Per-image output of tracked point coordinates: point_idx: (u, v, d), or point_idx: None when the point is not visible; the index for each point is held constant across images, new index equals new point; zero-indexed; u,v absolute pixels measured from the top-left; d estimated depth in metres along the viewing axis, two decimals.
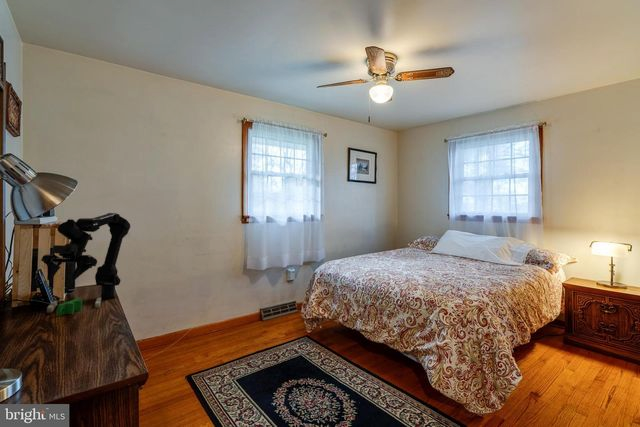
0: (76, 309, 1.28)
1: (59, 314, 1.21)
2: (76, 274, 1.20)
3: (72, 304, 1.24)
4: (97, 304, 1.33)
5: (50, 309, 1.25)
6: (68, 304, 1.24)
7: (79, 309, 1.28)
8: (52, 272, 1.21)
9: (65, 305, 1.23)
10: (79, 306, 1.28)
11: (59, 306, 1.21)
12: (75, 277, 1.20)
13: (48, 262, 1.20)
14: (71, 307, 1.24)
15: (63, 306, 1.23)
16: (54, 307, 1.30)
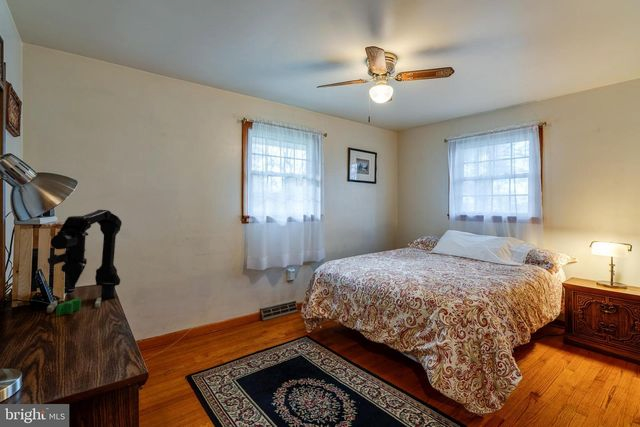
0: (75, 309, 1.28)
1: (58, 314, 1.21)
2: (71, 281, 1.20)
3: (71, 304, 1.24)
4: (97, 304, 1.33)
5: (50, 309, 1.25)
6: (67, 304, 1.24)
7: (78, 309, 1.28)
8: None
9: (64, 305, 1.23)
10: (78, 306, 1.28)
11: (58, 306, 1.21)
12: (72, 283, 1.21)
13: None
14: (70, 307, 1.24)
15: (62, 306, 1.23)
16: (54, 307, 1.30)
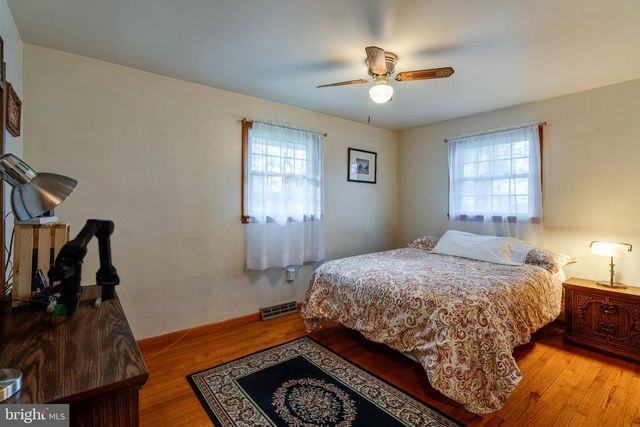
0: None
1: (56, 314, 1.21)
2: (67, 311, 1.17)
3: None
4: (97, 304, 1.33)
5: (50, 309, 1.25)
6: None
7: (76, 309, 1.28)
8: None
9: (62, 305, 1.23)
10: (76, 306, 1.28)
11: (56, 306, 1.21)
12: (69, 313, 1.17)
13: None
14: None
15: (60, 306, 1.23)
16: None
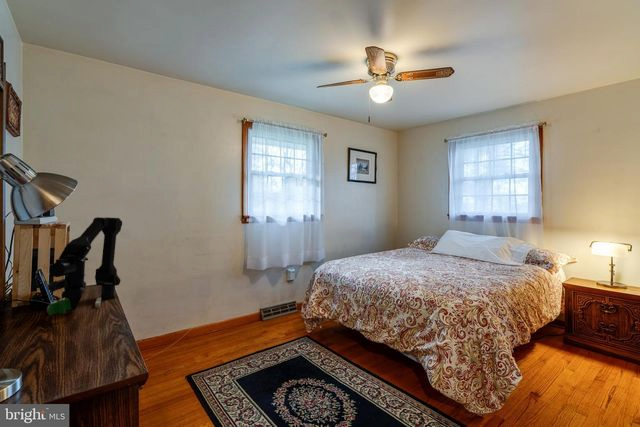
0: (68, 308, 1.28)
1: (50, 313, 1.21)
2: (72, 304, 1.26)
3: (64, 303, 1.25)
4: (97, 304, 1.33)
5: None
6: (60, 303, 1.24)
7: (71, 308, 1.29)
8: None
9: (57, 304, 1.24)
10: None
11: (50, 305, 1.21)
12: (73, 306, 1.26)
13: None
14: (63, 306, 1.25)
15: (55, 305, 1.23)
16: None
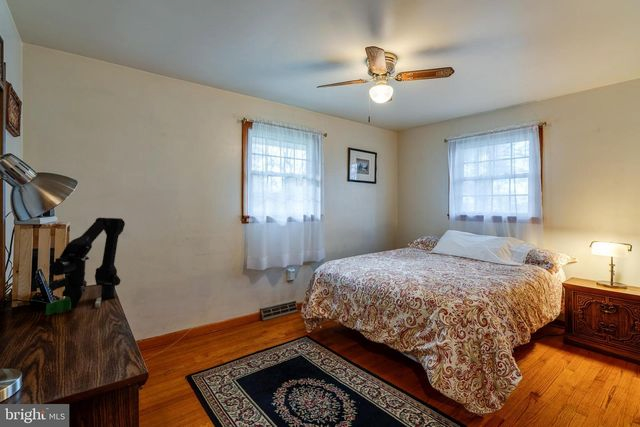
0: (65, 308, 1.28)
1: (48, 313, 1.21)
2: (72, 303, 1.27)
3: (61, 303, 1.25)
4: (97, 304, 1.33)
5: None
6: (57, 303, 1.25)
7: (68, 308, 1.29)
8: None
9: (54, 304, 1.24)
10: (68, 305, 1.29)
11: (48, 305, 1.21)
12: (74, 305, 1.28)
13: None
14: (60, 306, 1.25)
15: (52, 305, 1.23)
16: None
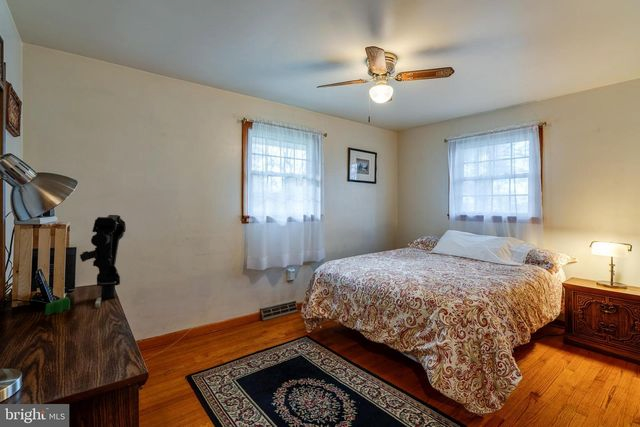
0: (64, 308, 1.29)
1: (47, 313, 1.22)
2: (101, 274, 1.36)
3: (60, 303, 1.25)
4: (97, 304, 1.33)
5: None
6: (56, 303, 1.25)
7: (67, 308, 1.29)
8: None
9: (53, 304, 1.24)
10: (67, 305, 1.29)
11: (47, 305, 1.22)
12: (102, 276, 1.36)
13: None
14: (59, 306, 1.25)
15: (51, 305, 1.23)
16: None
